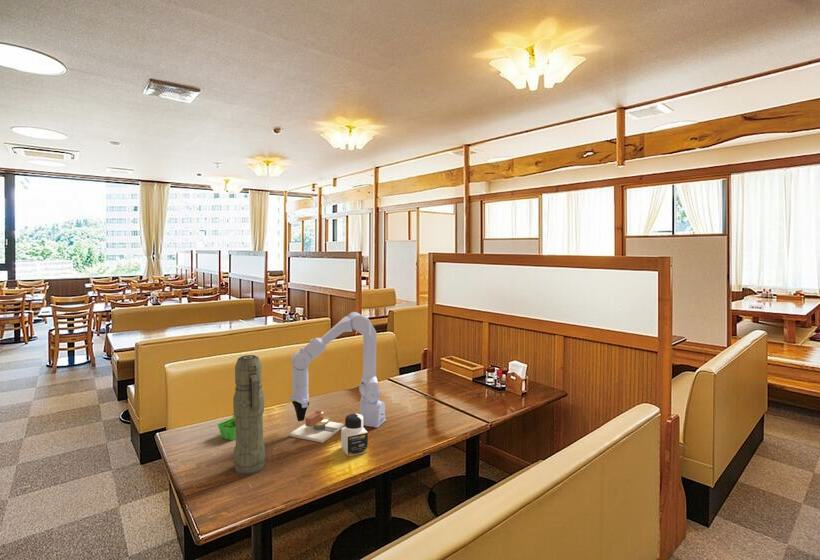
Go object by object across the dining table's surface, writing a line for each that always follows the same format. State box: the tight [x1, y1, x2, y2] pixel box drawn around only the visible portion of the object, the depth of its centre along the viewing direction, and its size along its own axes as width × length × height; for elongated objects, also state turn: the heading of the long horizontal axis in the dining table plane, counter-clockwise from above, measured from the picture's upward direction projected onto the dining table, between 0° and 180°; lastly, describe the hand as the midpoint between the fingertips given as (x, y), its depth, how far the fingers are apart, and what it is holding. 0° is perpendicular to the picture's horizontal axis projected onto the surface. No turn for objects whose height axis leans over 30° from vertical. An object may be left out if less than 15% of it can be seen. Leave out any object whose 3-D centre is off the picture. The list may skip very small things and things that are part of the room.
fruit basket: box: [217, 412, 236, 441], centre depth 156 cm, size 11×9×11 cm
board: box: [289, 421, 345, 443], centre depth 160 cm, size 14×15×3 cm
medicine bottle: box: [340, 413, 369, 457], centre depth 145 cm, size 7×7×12 cm
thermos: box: [232, 354, 266, 476], centre depth 131 cm, size 9×12×35 cm
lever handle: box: [304, 409, 331, 427], centre depth 159 cm, size 8×11×4 cm
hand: (300, 420), depth 158 cm, fingers closed
